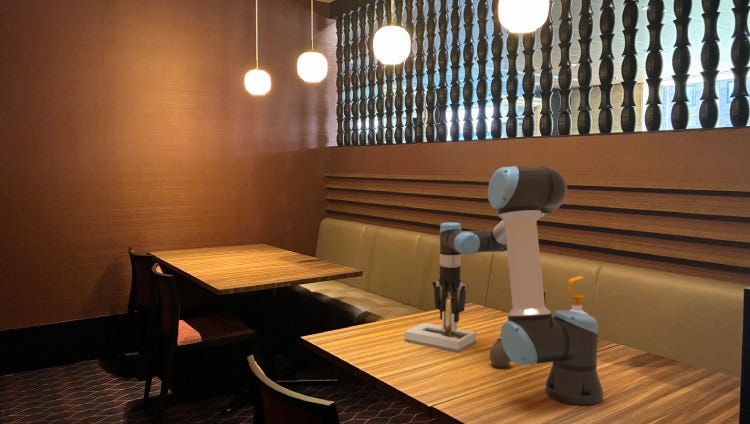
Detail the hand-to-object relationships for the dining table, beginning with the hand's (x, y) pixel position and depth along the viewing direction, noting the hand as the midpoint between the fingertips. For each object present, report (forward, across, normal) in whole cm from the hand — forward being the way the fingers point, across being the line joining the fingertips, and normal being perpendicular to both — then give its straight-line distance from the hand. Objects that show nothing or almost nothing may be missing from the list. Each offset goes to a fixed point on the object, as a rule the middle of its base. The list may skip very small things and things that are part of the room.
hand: (449, 329), depth 204 cm
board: (+5, +4, 0) cm, 6 cm away
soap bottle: (+5, -37, -27) cm, 46 cm away
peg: (+4, 0, 0) cm, 4 cm away
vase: (+5, -24, +11) cm, 27 cm away
